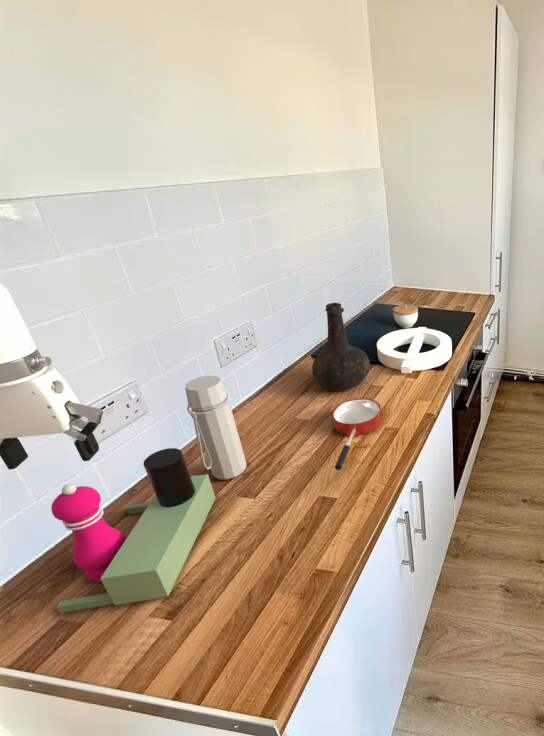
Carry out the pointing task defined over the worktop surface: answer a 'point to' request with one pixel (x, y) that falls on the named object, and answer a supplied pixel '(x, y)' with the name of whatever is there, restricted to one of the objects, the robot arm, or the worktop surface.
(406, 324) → the trinket box
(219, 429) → the water bottle
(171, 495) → the spice tin
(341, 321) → the glass bottle
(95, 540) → the pepper mill
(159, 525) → the riser
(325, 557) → the worktop surface
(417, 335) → the white circle with bar
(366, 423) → the frying pan
